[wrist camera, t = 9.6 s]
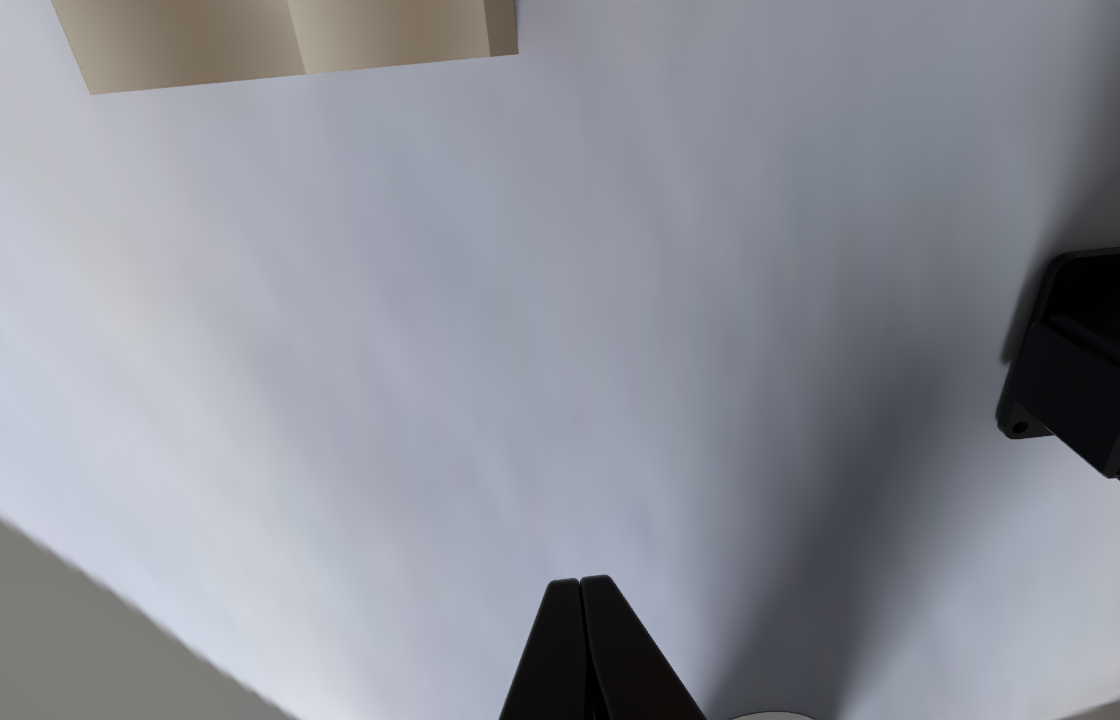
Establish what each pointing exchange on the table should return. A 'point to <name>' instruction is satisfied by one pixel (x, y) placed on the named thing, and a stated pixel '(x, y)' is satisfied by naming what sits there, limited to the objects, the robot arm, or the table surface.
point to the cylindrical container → (774, 716)
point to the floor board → (272, 37)
